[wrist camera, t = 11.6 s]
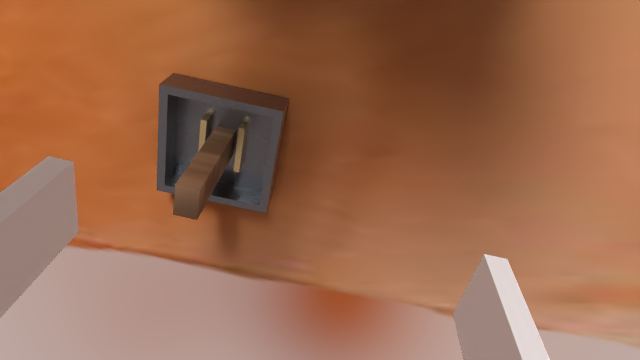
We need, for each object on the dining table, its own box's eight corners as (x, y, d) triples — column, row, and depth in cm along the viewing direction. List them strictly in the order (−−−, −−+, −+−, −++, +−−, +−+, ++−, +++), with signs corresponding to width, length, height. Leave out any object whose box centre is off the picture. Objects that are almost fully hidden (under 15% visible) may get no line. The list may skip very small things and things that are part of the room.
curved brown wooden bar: (216, 125, 46) (175, 183, 36) (236, 130, 47) (200, 189, 36) (213, 151, 48) (173, 214, 38) (232, 155, 48) (196, 219, 38)
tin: (173, 73, 45) (159, 84, 42) (288, 98, 45) (283, 111, 42) (169, 173, 50) (156, 190, 47) (271, 195, 51) (265, 213, 48)
